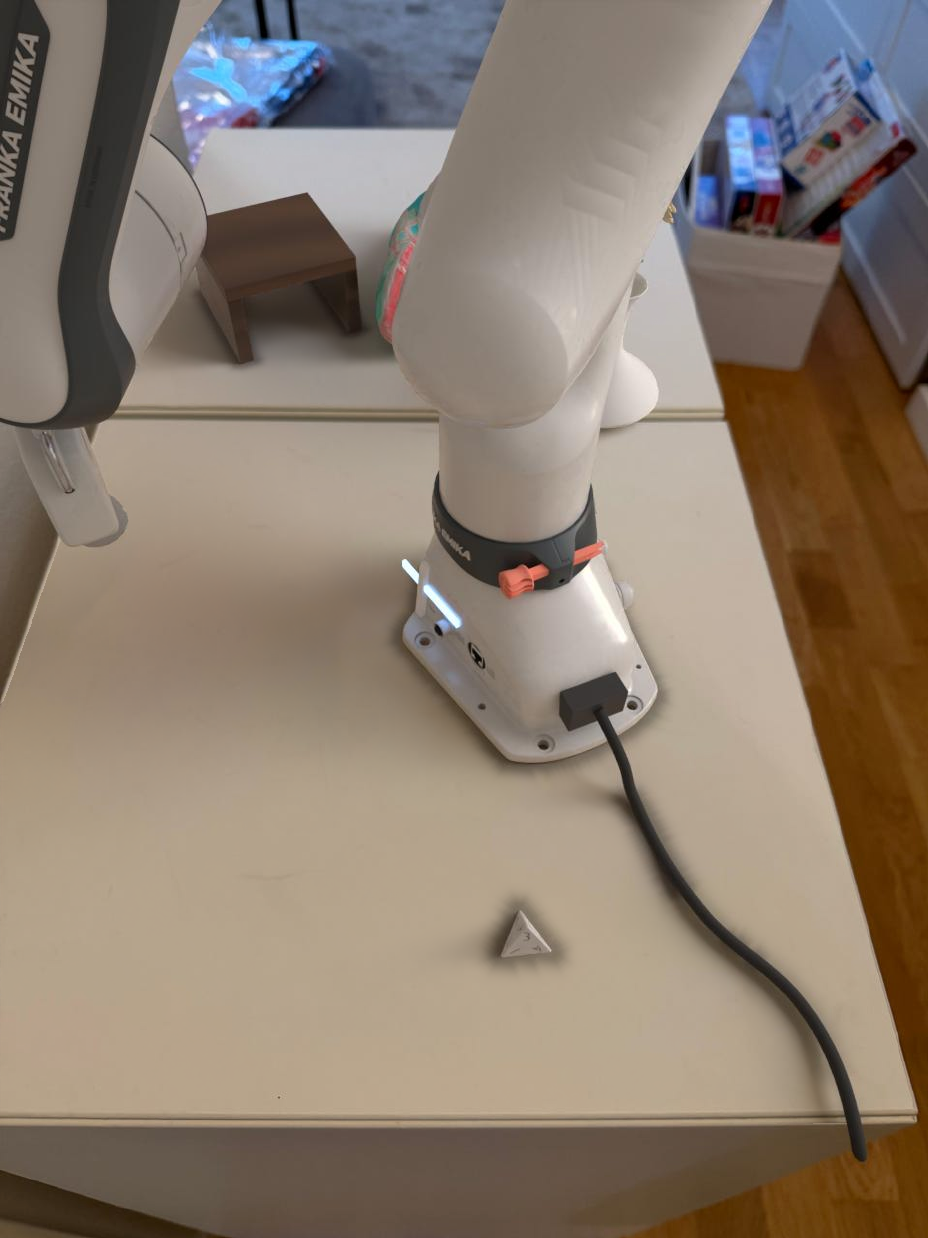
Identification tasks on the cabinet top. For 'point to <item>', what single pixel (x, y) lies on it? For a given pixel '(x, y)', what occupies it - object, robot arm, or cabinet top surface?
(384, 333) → the athletic shoe
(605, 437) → the cabinet top surface
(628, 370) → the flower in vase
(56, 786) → the cabinet top surface
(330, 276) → the shelf
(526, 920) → the tetrahedral die
